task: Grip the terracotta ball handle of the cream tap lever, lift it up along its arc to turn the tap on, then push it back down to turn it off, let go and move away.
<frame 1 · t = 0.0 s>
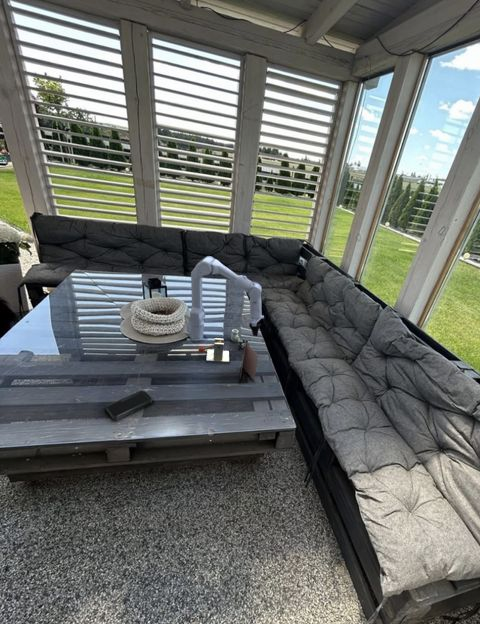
hand: (256, 332, 151), 11 cm above the table, tool pointing down, fingers open, 7 cm apart
tap bracket: (217, 357, 145), on the table
phone: (129, 405, 110), on the table
lever: (210, 346, 141), point 6 cm above the table, hinge at -25.0°
valve: (237, 344, 157), on the table
greeting card: (246, 376, 137), on the table
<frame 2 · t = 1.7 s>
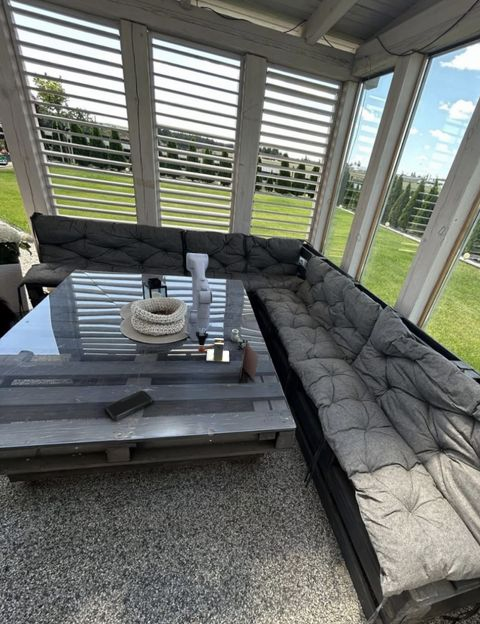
hand: (202, 340, 138), 9 cm above the table, tool pointing down, fingers open, 7 cm apart
nothing on the table moved.
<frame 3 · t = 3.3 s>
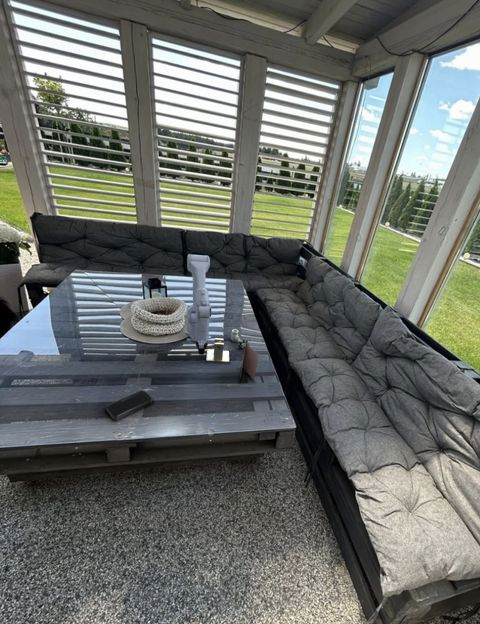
hand: (201, 352, 142), 3 cm above the table, tool pointing down, fingers closed on lever, 3 cm apart
lever: (210, 346, 141), point 6 cm above the table, hinge at -25.0°, touching gripper
everything else where it was.
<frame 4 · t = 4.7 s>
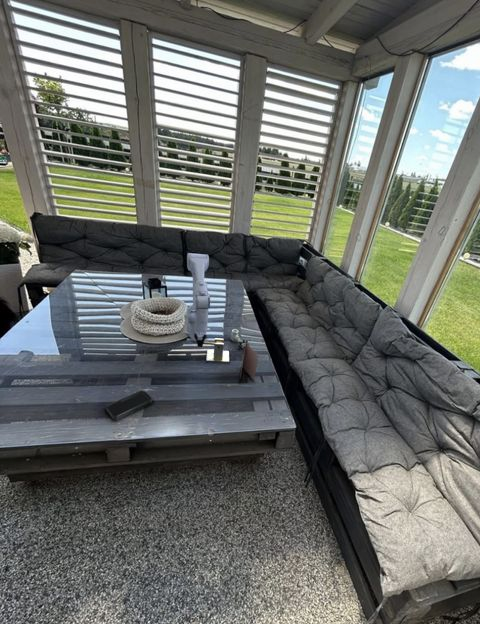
hand: (200, 344, 139), 7 cm above the table, tool pointing down, fingers closed on lever, 3 cm apart
lever: (209, 343, 139), point 8 cm above the table, hinge at 2.2°, touching gripper
everything else where it was.
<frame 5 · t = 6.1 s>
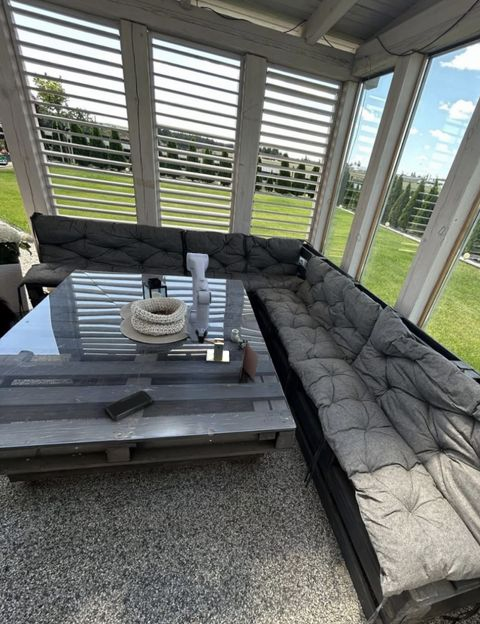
hand: (201, 340, 138), 9 cm above the table, tool pointing down, fingers closed on lever, 3 cm apart
lever: (209, 341, 139), point 9 cm above the table, hinge at 15.4°, touching gripper
everything else where it was.
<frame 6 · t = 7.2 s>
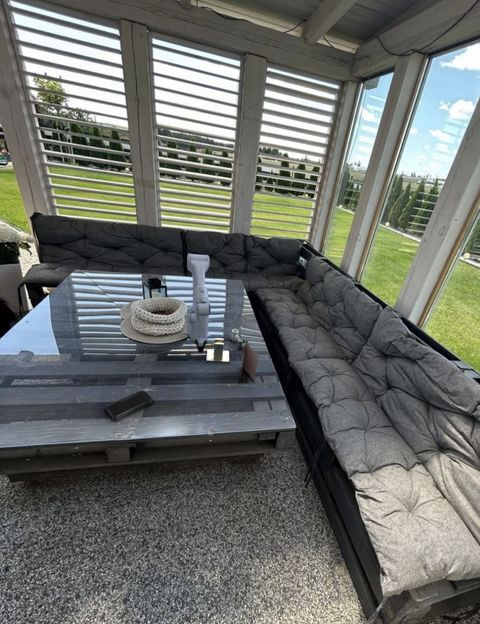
hand: (200, 350, 141), 4 cm above the table, tool pointing down, fingers closed on lever, 3 cm apart
lever: (209, 345, 140), point 7 cm above the table, hinge at -17.3°, touching gripper
everything else where it was.
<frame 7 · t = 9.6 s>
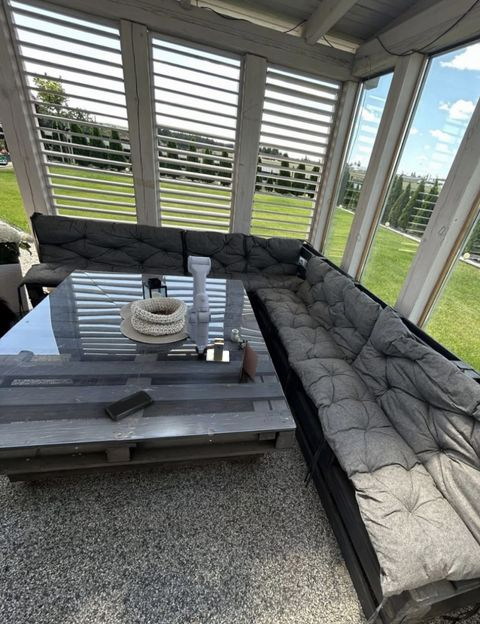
hand: (201, 356, 143), 0 cm above the table, tool pointing down, fingers open, 3 cm apart
lever: (210, 347, 141), point 6 cm above the table, hinge at -27.6°, touching gripper
everything else where it was.
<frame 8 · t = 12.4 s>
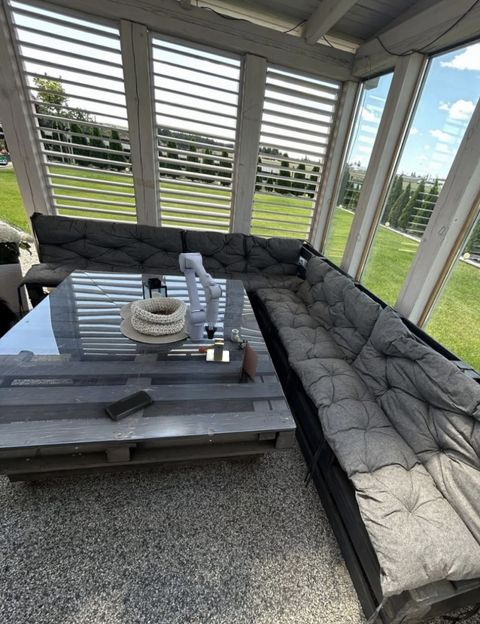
hand: (210, 335, 141), 10 cm above the table, tool pointing down, fingers open, 7 cm apart
lever: (210, 347, 141), point 6 cm above the table, hinge at -27.1°
everything else where it was.
at the end: lever reached +20° during the clip, -27° at the end; lever at -27° (first picture: -25°); the gripper is holding nothing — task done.
